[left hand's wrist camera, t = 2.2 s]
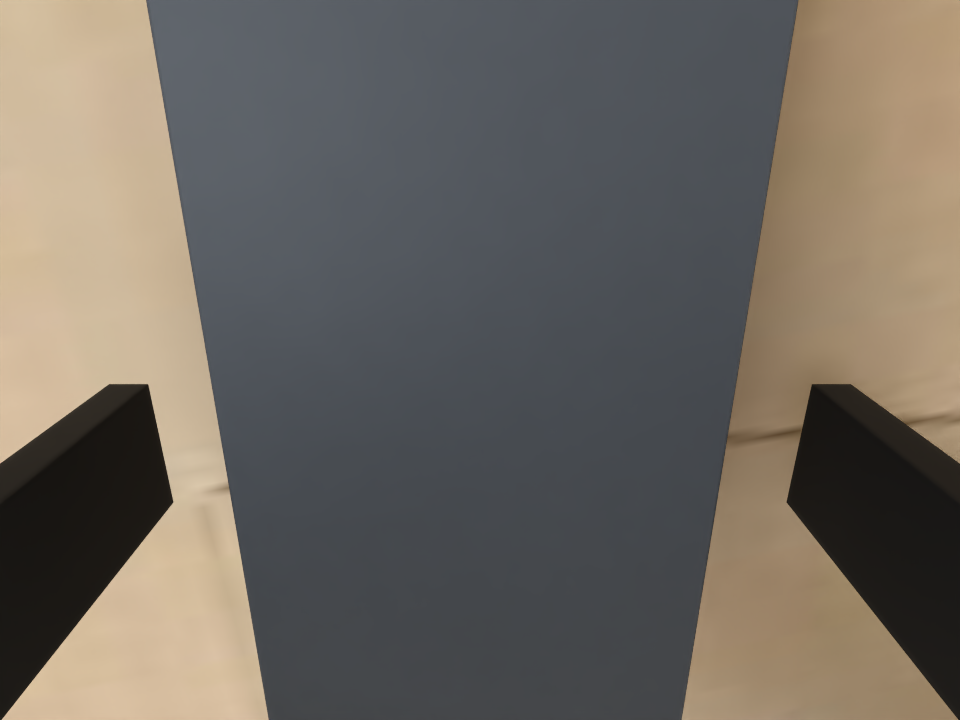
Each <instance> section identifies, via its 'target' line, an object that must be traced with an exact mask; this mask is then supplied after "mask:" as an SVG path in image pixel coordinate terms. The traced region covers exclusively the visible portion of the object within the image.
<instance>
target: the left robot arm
mask: <svg viewBox="0 0 960 720" xmlns="http://www.w3.org/2000/svg"><path fill="white" fill-rule="evenodd" d="M172 503H173V498H172V494H171V489H170V484H169V480H168V475H167V470H166V466H165V461H164V456H163V452H162V447H161V442H160V438H159V433H158V428H157V424H156V419H155V414H154V410H153V405H152V400H151V396H150V391H149V386H148V384H109V385H108V386H106V387H105V388H104V389H102V390H101V391H99V392H98V393H97V394H95V395H94V396H93V397H91V398H90V399H88V400H87V401H86V402H84V403H83V404H82V405H80V406H79V407H77V408H76V409H75V410H73V411H72V412H71V413H69V414H68V415H66V416H65V417H64V418H62V419H61V420H60V421H58V422H57V423H56V424H54V425H53V426H51V427H50V428H49V429H47V430H46V431H45V432H43V433H42V434H40V435H39V436H38V437H36V438H35V439H34V440H32V441H31V442H29V443H28V444H27V445H25V446H24V447H23V448H21V449H20V450H18V451H17V452H16V453H14V454H13V455H12V456H10V457H9V458H7V459H6V460H5V461H3V462H2V463H1V464H0V720H2V718H3V717H4V716H5V715H6V713H7V712H8V711H9V710H10V708H11V707H12V706H13V705H14V703H15V702H16V701H17V699H18V698H19V697H20V696H21V694H22V693H23V692H24V691H25V689H26V688H27V687H28V686H29V684H30V683H31V682H32V680H33V679H34V678H35V677H36V675H37V674H38V673H39V672H40V670H41V669H42V668H43V667H44V665H45V664H46V663H47V661H48V660H49V659H50V658H51V656H52V655H53V654H54V653H55V651H56V650H57V649H58V648H59V646H60V645H61V644H62V643H63V641H64V640H65V639H66V637H67V636H68V635H69V634H70V632H71V631H72V630H73V629H74V627H75V626H76V625H77V624H78V622H79V621H80V620H81V618H82V617H83V616H84V615H85V613H86V612H87V611H88V610H89V608H90V607H91V606H92V605H93V603H94V602H95V601H96V600H97V598H98V597H99V596H100V594H101V593H102V592H103V591H104V589H105V588H106V587H107V586H108V584H109V583H110V582H111V581H112V579H113V578H114V577H115V575H116V574H117V573H118V572H119V570H120V569H121V568H122V567H123V565H124V564H125V563H126V562H127V560H128V559H129V558H130V556H131V555H132V554H133V553H134V551H135V550H136V549H137V548H138V546H139V545H140V544H141V543H142V541H143V540H144V539H145V538H146V536H147V535H148V534H149V532H150V531H151V530H152V529H153V527H154V526H155V525H156V524H157V522H158V521H159V520H160V519H161V517H162V516H163V515H164V513H165V512H166V511H167V510H168V508H169V507H170V506H171V505H172ZM787 503H788V505H789V506H790V507H791V508H792V510H793V511H794V512H795V513H796V515H797V516H798V517H799V519H800V520H801V521H802V522H803V524H804V525H805V526H806V527H807V529H808V530H809V531H810V532H811V534H812V535H813V536H814V538H815V539H816V540H817V541H818V543H819V544H820V545H821V546H822V548H823V549H824V550H825V551H826V553H827V554H828V555H829V556H830V558H831V559H832V560H833V562H834V563H835V564H836V565H837V567H838V568H839V569H840V570H841V572H842V573H843V574H844V575H845V577H846V578H847V579H848V581H849V582H850V583H851V584H852V586H853V587H854V588H855V589H856V591H857V592H858V593H859V594H860V596H861V597H862V598H863V600H864V601H865V602H866V603H867V605H868V606H869V607H870V608H871V610H872V611H873V612H874V613H875V615H876V616H877V617H878V618H879V620H880V621H881V622H882V624H883V625H884V626H885V627H886V629H887V630H888V631H889V632H890V634H891V635H892V636H893V637H894V639H895V640H896V641H897V643H898V644H899V645H900V646H901V648H902V649H903V650H904V651H905V653H906V654H907V655H908V656H909V658H910V659H911V660H912V662H913V663H914V664H915V665H916V667H917V668H918V669H919V670H920V672H921V673H922V674H923V675H924V677H925V678H926V679H927V680H928V682H929V683H930V684H931V686H932V687H933V688H934V689H935V691H936V692H937V693H938V694H939V696H940V697H941V698H942V699H943V701H944V702H945V703H946V705H947V706H948V707H949V708H950V710H951V711H952V712H953V713H954V715H955V716H956V717H957V718H958V720H960V464H959V463H958V462H957V461H955V460H954V459H953V458H951V457H950V456H948V455H947V454H946V453H944V452H943V451H942V450H940V449H939V448H937V447H936V446H935V445H933V444H932V443H931V442H929V441H928V440H926V439H925V438H924V437H922V436H921V435H920V434H918V433H917V432H915V431H914V430H913V429H911V428H910V427H909V426H907V425H906V424H904V423H903V422H902V421H900V420H899V419H898V418H896V417H895V416H894V415H892V414H891V413H889V412H888V411H887V410H885V409H884V408H883V407H881V406H880V405H878V404H877V403H876V402H874V401H873V400H872V399H870V398H869V397H867V396H866V395H865V394H863V393H862V392H861V391H859V390H858V389H856V388H855V387H854V386H852V385H851V384H812V386H811V391H810V396H809V400H808V405H807V410H806V414H805V419H804V424H803V428H802V433H801V438H800V442H799V447H798V452H797V456H796V461H795V466H794V470H793V475H792V480H791V484H790V489H789V494H788V498H787Z"/></svg>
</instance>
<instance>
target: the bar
mask: <svg viewBox="0 0 960 720" xmlns="http://www.w3.org/2000/svg"><path fill="white" fill-rule="evenodd" d="M146 2H147V8H148V13H149V19H150V25H151V31H152V37H153V43H154V49H155V54H156V60H157V66H158V72H159V78H160V84H161V90H162V96H163V101H164V107H165V113H166V119H167V125H168V131H169V137H170V143H171V148H172V154H173V160H174V166H175V172H176V178H177V184H178V189H179V195H180V201H181V207H182V213H183V219H184V225H185V231H186V236H187V242H188V248H189V254H190V260H191V266H192V272H193V277H194V283H195V289H196V295H197V301H198V307H199V313H200V319H201V324H202V330H203V336H204V342H205V348H206V354H207V360H208V365H209V371H210V377H211V383H212V389H213V395H214V401H215V407H216V412H217V418H218V424H219V430H220V436H221V442H222V448H223V454H224V459H225V465H226V471H227V477H228V483H229V489H230V495H231V500H232V506H233V512H234V518H235V524H236V530H237V536H238V542H239V547H240V553H241V559H242V565H243V571H244V577H245V583H246V588H247V594H248V600H249V606H250V612H251V618H252V624H253V630H254V635H255V641H256V647H257V653H258V659H259V665H260V671H261V676H262V682H263V688H264V694H265V700H266V706H267V712H268V718H269V720H681V719H682V713H683V707H684V701H685V695H686V689H687V682H688V676H689V670H690V664H691V658H692V652H693V645H694V639H695V633H696V627H697V621H698V615H699V609H700V602H701V596H702V590H703V584H704V578H705V572H706V565H707V559H708V553H709V547H710V541H711V535H712V529H713V522H714V516H715V510H716V504H717V498H718V492H719V485H720V479H721V473H722V467H723V461H724V455H725V449H726V442H727V436H728V430H729V424H730V418H731V412H732V405H733V399H734V393H735V387H736V381H737V375H738V369H739V362H740V356H741V350H742V344H743V338H744V332H745V325H746V319H747V313H748V307H749V301H750V295H751V289H752V282H753V276H754V270H755V264H756V258H757V252H758V245H759V239H760V233H761V227H762V221H763V215H764V209H765V202H766V196H767V190H768V184H769V178H770V172H771V165H772V159H773V153H774V147H775V141H776V135H777V129H778V122H779V116H780V110H781V104H782V98H783V92H784V85H785V79H786V73H787V67H788V61H789V55H790V49H791V42H792V36H793V30H794V24H795V18H796V12H797V5H798V0H146Z"/></svg>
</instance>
